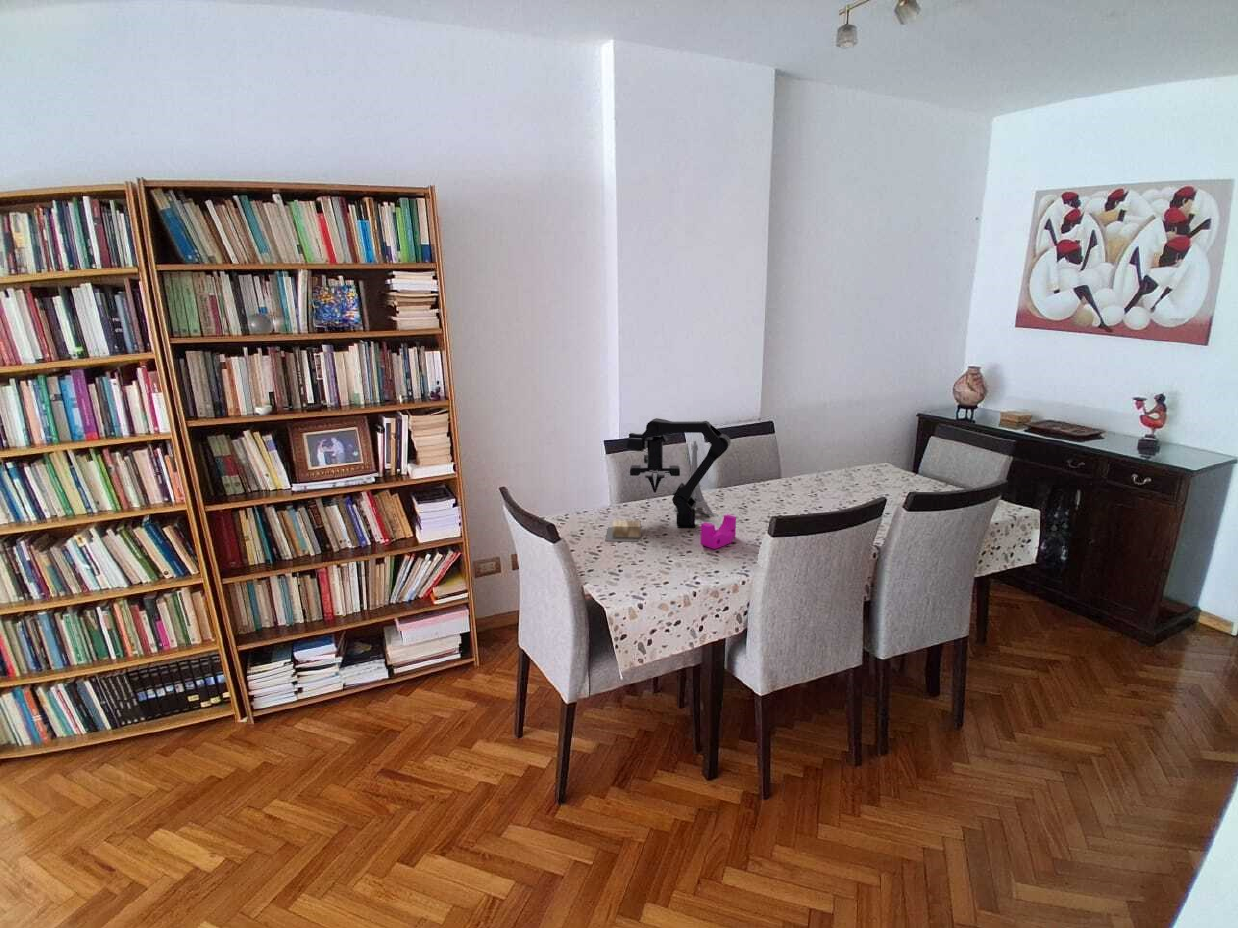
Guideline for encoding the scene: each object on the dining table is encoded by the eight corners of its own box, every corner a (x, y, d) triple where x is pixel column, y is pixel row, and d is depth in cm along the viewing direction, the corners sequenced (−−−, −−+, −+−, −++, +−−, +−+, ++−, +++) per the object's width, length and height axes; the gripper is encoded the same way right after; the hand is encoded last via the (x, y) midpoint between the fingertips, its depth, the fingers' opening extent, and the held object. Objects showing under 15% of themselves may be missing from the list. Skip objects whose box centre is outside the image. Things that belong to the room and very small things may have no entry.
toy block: (714, 549, 219) (715, 528, 217) (700, 544, 224) (701, 524, 222) (741, 538, 229) (741, 518, 227) (727, 533, 234) (727, 514, 232)
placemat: (639, 528, 240) (639, 527, 240) (638, 541, 226) (638, 541, 226) (608, 527, 240) (608, 527, 240) (604, 541, 227) (604, 540, 227)
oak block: (641, 521, 235) (613, 520, 235) (640, 526, 229) (612, 526, 230) (641, 531, 236) (614, 530, 236) (640, 537, 230) (612, 536, 230)
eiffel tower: (701, 507, 263) (703, 436, 256) (716, 517, 251) (718, 443, 243) (671, 511, 259) (672, 438, 252) (685, 521, 247) (686, 445, 239)
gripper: (679, 447, 246) (678, 486, 250) (631, 447, 248) (631, 486, 251) (680, 454, 236) (679, 494, 239) (629, 454, 237) (629, 494, 241)
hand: (654, 492), depth 243 cm, fingers closed
